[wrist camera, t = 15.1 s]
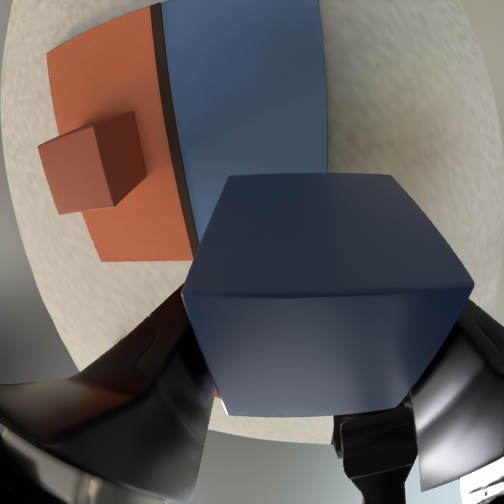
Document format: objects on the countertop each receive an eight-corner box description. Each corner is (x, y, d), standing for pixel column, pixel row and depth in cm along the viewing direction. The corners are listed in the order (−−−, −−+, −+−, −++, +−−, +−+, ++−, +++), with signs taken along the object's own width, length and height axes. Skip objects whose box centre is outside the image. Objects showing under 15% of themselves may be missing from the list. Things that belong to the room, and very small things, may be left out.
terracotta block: (148, 176, 19) (114, 207, 15) (95, 185, 19) (58, 215, 15) (134, 110, 16) (93, 125, 12) (80, 126, 17) (36, 146, 13)
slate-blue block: (368, 293, 11) (396, 408, 6) (243, 296, 11) (226, 416, 7) (391, 173, 8) (477, 283, 4) (227, 174, 8) (178, 293, 4)
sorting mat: (322, 253, 22) (324, 258, 22) (103, 258, 25) (100, 262, 24) (315, -14, 11) (316, -17, 10) (50, 52, 13) (45, 53, 13)
